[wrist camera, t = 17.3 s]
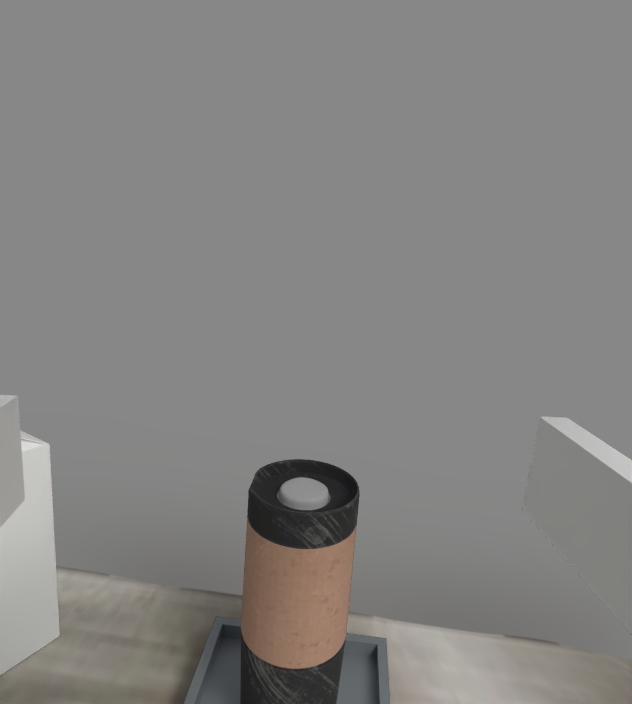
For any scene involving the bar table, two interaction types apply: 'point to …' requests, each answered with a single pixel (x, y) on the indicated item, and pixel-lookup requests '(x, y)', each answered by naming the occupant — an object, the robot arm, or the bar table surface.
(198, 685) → the tray
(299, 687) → the travel mug
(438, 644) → the bar table surface
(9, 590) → the milk
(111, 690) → the bar table surface
